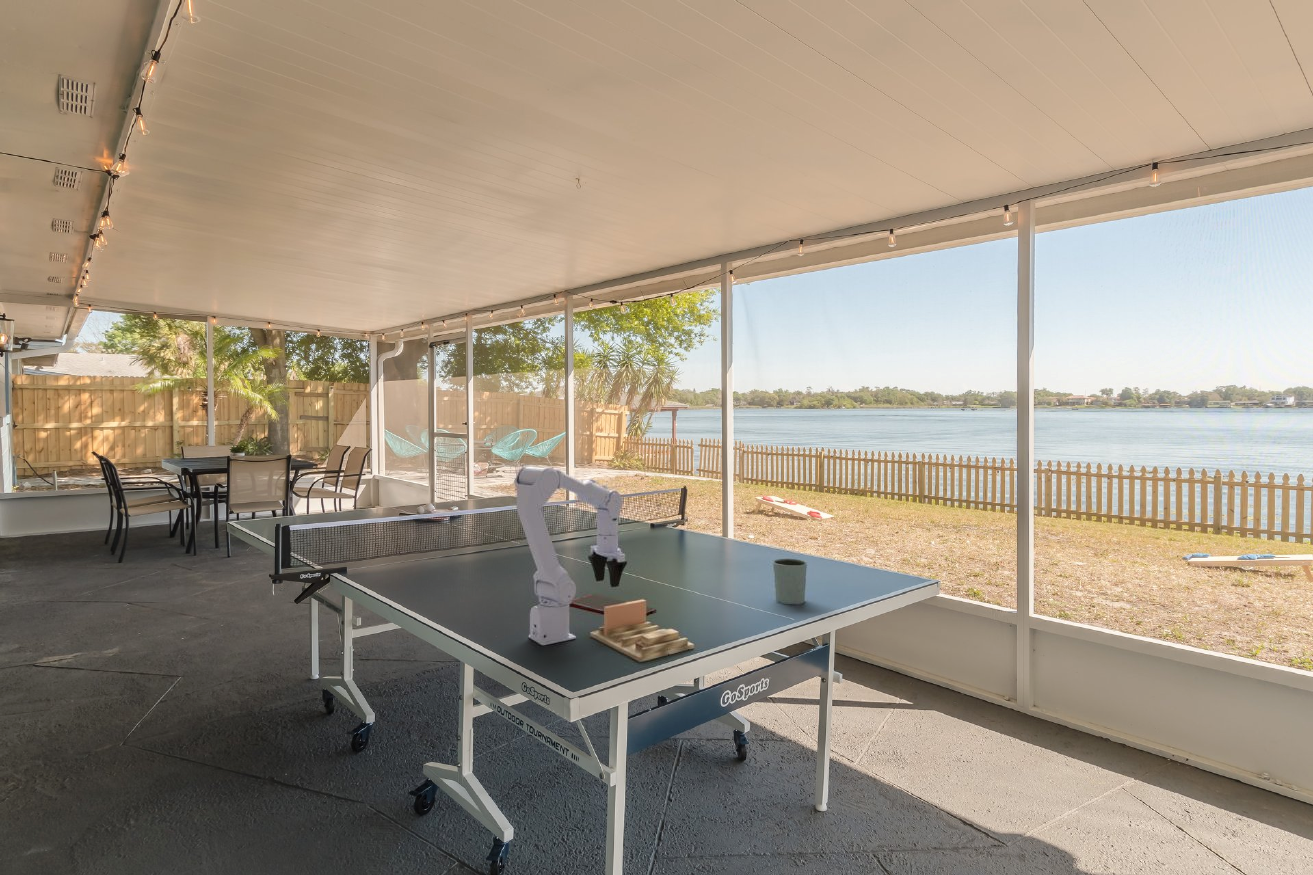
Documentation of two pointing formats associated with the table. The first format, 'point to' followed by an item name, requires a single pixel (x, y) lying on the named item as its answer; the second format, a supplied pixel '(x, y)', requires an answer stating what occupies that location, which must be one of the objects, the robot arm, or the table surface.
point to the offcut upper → (659, 636)
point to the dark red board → (600, 603)
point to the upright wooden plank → (624, 614)
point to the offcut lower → (641, 645)
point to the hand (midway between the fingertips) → (607, 583)
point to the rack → (630, 635)
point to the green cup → (790, 580)
